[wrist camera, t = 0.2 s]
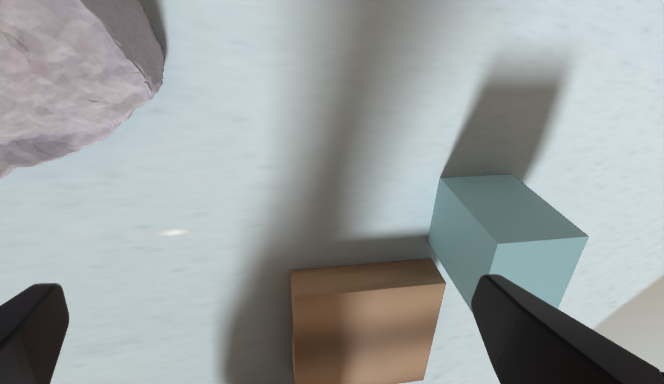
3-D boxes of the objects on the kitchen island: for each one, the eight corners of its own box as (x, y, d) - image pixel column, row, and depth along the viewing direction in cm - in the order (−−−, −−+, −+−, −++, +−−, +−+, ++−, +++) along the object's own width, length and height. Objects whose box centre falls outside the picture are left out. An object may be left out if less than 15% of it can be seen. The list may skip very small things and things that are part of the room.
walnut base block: (410, 348, 34) (423, 379, 31) (291, 363, 32) (295, 397, 30) (428, 254, 29) (446, 283, 26) (290, 266, 27) (294, 297, 25)
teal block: (493, 236, 29) (557, 308, 23) (427, 241, 28) (476, 318, 22) (511, 173, 26) (588, 236, 20) (439, 177, 25) (498, 243, 19)
